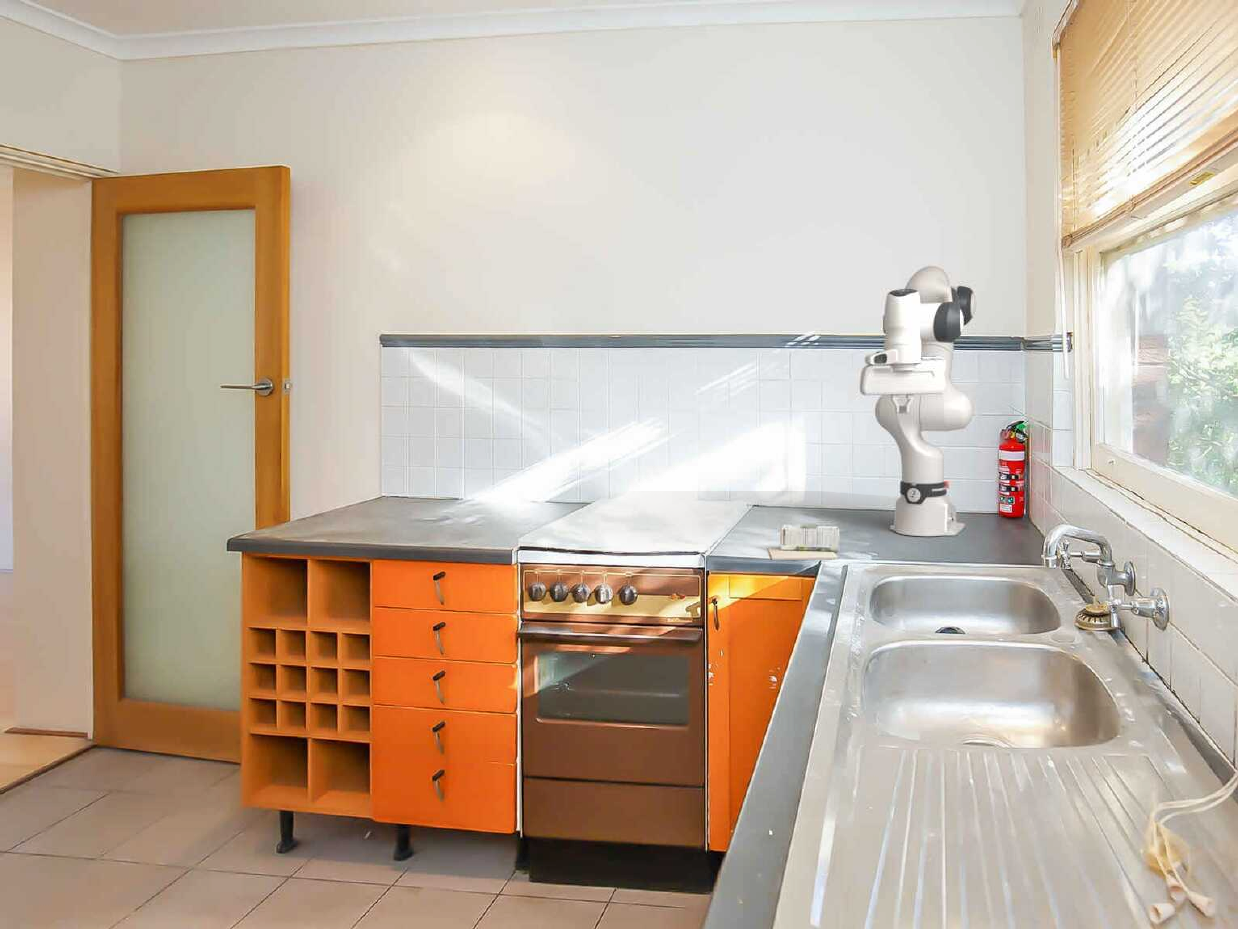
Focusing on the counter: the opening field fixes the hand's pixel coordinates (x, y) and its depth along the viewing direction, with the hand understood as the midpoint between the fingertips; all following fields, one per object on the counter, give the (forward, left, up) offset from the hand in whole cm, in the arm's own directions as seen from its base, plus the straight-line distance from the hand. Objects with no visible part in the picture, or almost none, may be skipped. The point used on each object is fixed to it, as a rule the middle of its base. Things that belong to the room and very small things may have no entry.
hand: (902, 413), depth 259 cm
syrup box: (+5, -14, -32) cm, 35 cm away
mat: (+12, -21, -35) cm, 43 cm away
